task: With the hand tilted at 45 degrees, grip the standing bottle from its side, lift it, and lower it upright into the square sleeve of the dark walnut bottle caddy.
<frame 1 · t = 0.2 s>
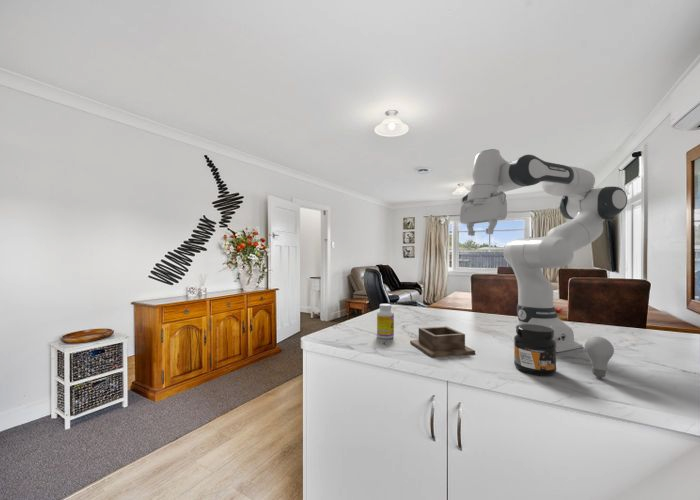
hand: (479, 234, 108), 40 cm above the worktop, tool pointing down, fingers open, 8 cm apart
supplement container: (534, 370, 89), on the worktop
lightbulb: (599, 378, 83), on the worktop
supplement bottle: (385, 337, 123), on the worktop
bottle caddy: (440, 348, 109), on the worktop
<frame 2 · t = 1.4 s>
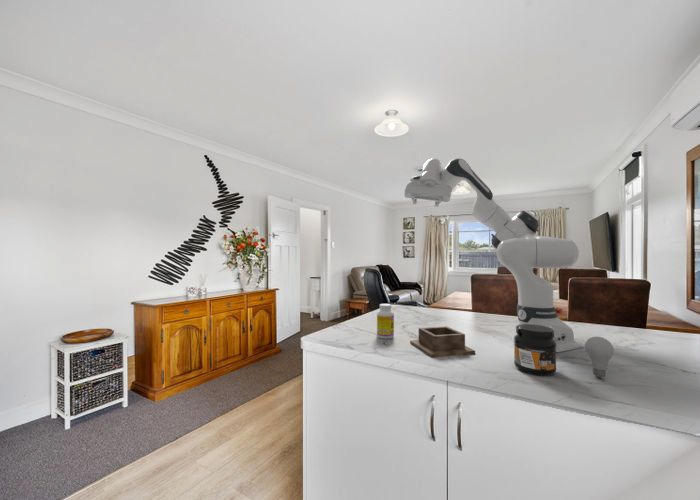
hand: (425, 204, 136), 55 cm above the worktop, tool tilted 40°, fingers open, 8 cm apart
nothing on the worktop moved.
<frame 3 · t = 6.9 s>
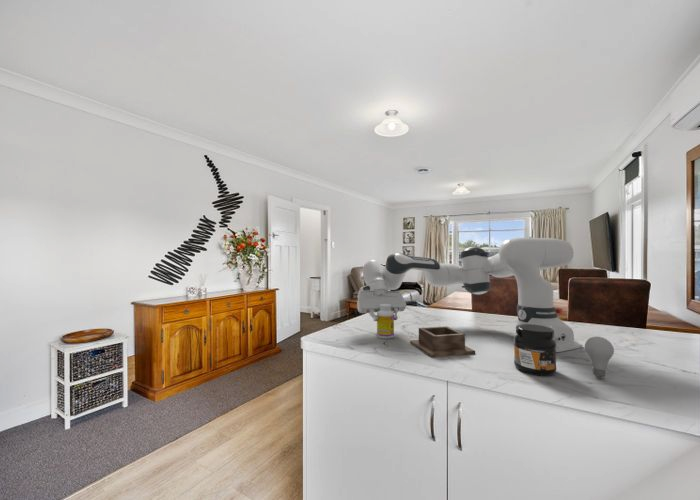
hand: (386, 319, 122), 7 cm above the worktop, tool tilted 45°, fingers closed on supplement bottle, 7 cm apart
supplement bottle: (385, 337, 123), on the worktop, touching gripper
everything else where it was.
when the fingers open (9 cm above the worktop, at t = 13.5 s): supplement bottle stays where it is, resting on bottle caddy.
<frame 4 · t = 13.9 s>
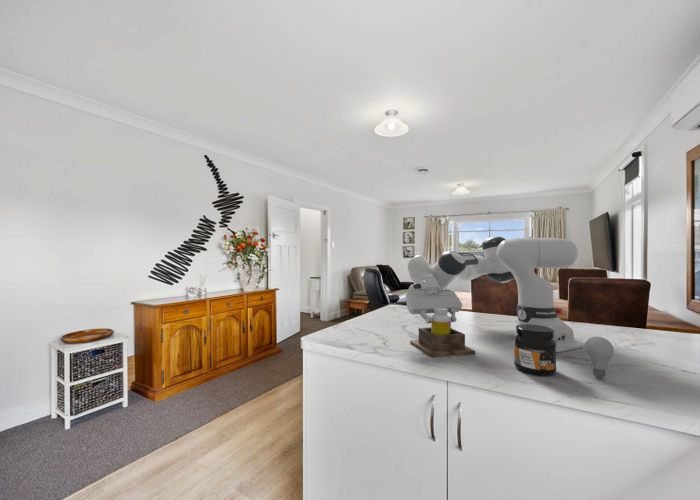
hand: (441, 321, 108), 9 cm above the worktop, tool tilted 45°, fingers open, 8 cm apart
supplement bottle: (440, 345, 109), point 1 cm above the worktop, touching bottle caddy
everything else where it was.
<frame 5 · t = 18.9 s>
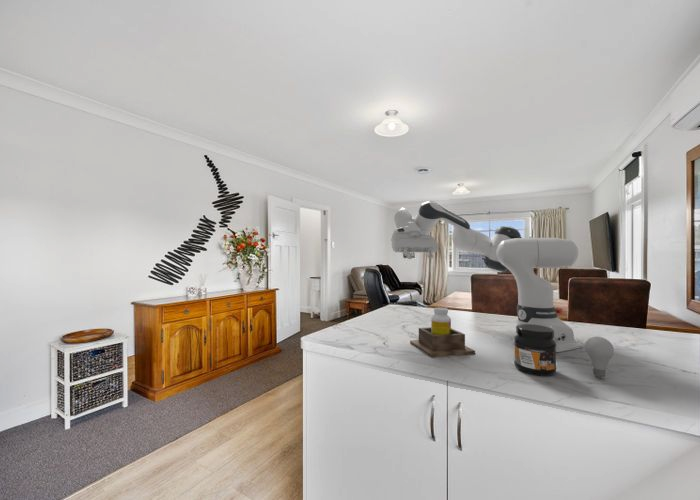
hand: (420, 257, 128), 31 cm above the worktop, tool tilted 45°, fingers open, 8 cm apart
nothing on the worktop moved.
at the end: supplement bottle 0.1 cm off-centre on the bottle caddy, point 0.8 cm above the bottle caddy's base; supplement bottle tilted 0°; the gripper is holding nothing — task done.
